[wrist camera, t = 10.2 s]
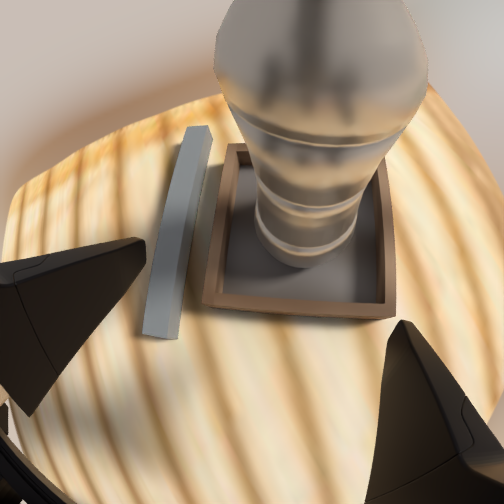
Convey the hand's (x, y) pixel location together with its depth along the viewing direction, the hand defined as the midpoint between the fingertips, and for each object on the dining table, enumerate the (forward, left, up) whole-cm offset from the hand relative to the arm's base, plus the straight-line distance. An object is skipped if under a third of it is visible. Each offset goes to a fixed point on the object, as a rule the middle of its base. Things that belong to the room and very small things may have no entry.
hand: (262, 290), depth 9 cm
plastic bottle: (+5, +4, -11) cm, 13 cm away
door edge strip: (-2, +10, -11) cm, 15 cm away
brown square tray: (+5, +4, -11) cm, 13 cm away
